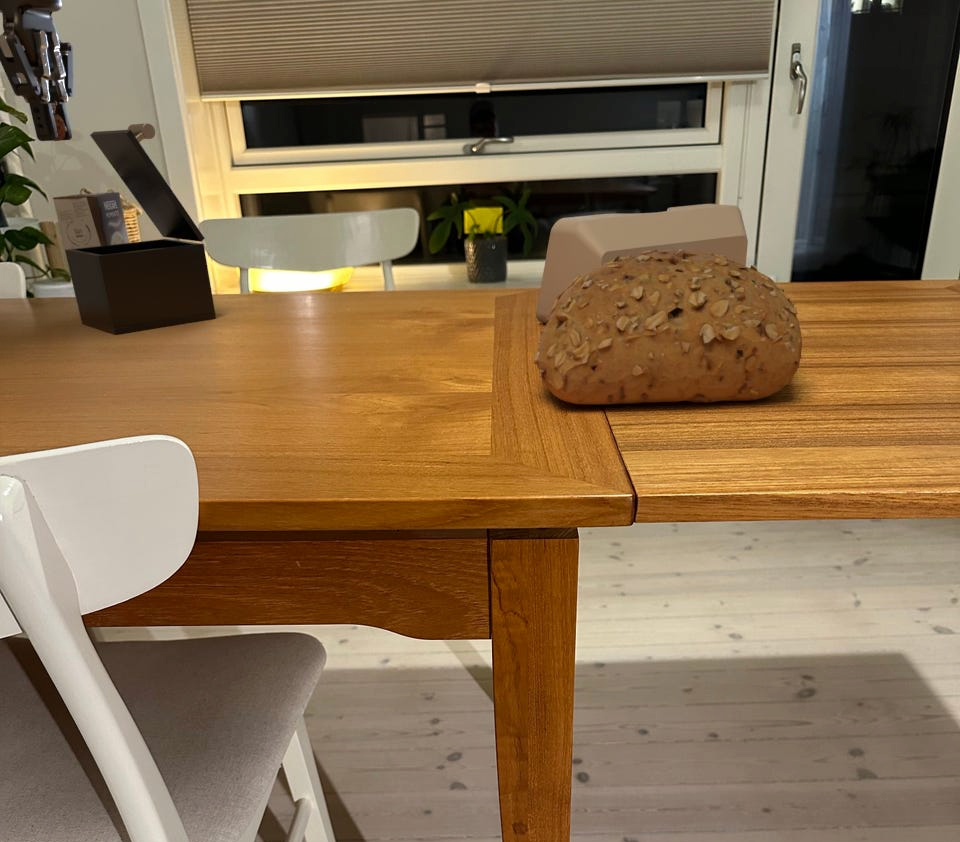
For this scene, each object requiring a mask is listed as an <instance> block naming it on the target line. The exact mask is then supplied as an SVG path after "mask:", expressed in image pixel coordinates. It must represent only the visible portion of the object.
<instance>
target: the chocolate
mask: <svg viewBox="0 0 960 842" xmlns="http://www.w3.org/2000/svg"><path fill="white" fill-rule="evenodd" d="M55 102H56V101H55ZM47 103H48V102H47ZM51 104H52V103H51ZM53 104H54V105H57V102H56V104H55V103H53ZM52 106H53V105H52ZM54 107H55V106H54ZM54 107H53V108H54ZM55 108H56V107H55ZM54 110H56V109H54ZM54 110H52V111H54ZM53 115H54V120H55V124H56V129H57V133H58V139H57V140H56V141H55V142H60V141H64V140H63V139H64V137H65V128H66V127H65V123H64V121H63V120H62V118H61V117H60V116H59V115H58V114H55V112H54V113H53ZM66 131H67V130H66Z"/></svg>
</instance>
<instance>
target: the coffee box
mask: <svg viewBox="0 0 960 842" xmlns="http://www.w3.org/2000/svg"><path fill="white" fill-rule="evenodd" d="M52 199H53V203H54V208H55V212H56V216H57V222H58V225H59V230H60V234H61V240H62V243H63V248H64V252H65V250H68V249H77V248H86V247H95V246H105V245H114V244H123V243H130V240H129V234H128V231H127V230H128V229H127V224H126V220H125V215H124V210H123V205H122V200H121V194H120V192H114V191H113V192H112V191H111V192H110V191H109V192H94V193H79V194H69V195H61V196H53V197H52ZM65 254H66V252H65ZM65 257H66V258H67V256H66V255H65ZM66 262H67V263H68V261H67V260H66ZM67 265H68V264H67ZM68 267H69V265H68ZM68 270H69V271H70V269H69V268H68ZM69 274H70V273H69ZM70 276H71V274H70ZM70 279H71V280H72V278H71V277H70ZM71 283H72V284H73V282H72V281H71ZM72 288H73V289H74V286H73V285H72ZM73 291H74V290H73ZM74 293H75V291H74ZM74 296H75V301H76V302H77V299H76V295H75V294H74ZM76 304H77V303H76ZM77 306H78V304H77ZM77 309H78V310H77V311H78V314H79V315H80V312H79V308H78V307H77Z"/></svg>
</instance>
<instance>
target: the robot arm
mask: <svg viewBox="0 0 960 842" xmlns="http://www.w3.org/2000/svg"><path fill="white" fill-rule="evenodd" d="M62 7H63V2H62V0H0V13H1V15H2V30H3V32H2V33H1V34H0V65H1V66H2V69H3V71H4V73H5V75H6V77H7V79H8V82H9V84H10V86H11V89H12V91H13V93H14V95H15V96H17V97H23V99H24V102H25V103H26V104H28V106H29V109H30V113H31V117H32V121H33V127H34V131H35V136H36V138H37V140H38V141H40V142H57V141H56V140H57V139H58V133H57V129H56V124H55V120H54V115H53V113H54V112H55V114H58V115H59V116H60V117H61V118H62V120H63V121H64V123H65V127H66V128H65V137H64V139H63V140H62V141H71V140H72V138H73V134H72V130H71V125H70V120H69V116H68V110H67V107H66V103H68V101H69V98H72V97H74V96H75V95H74V94H75V85H74V77H75V76H74V48H73V45H72V43H71V42H70V41H69V42H62V40H60V38H59V34H58V31H57V28H56V25H55V23H54V20H53V17H52V14H53V13H57V12H59V11H60V10H61V9H62ZM55 101H56V102H57V105H54V104H53V103H55V104H56V102H55ZM47 102H48V103H47ZM51 103H52V104H51ZM52 105H53V106H52ZM54 106H55V107H56V108H55V107H54ZM53 107H54V108H53ZM54 109H56V110H54ZM52 110H54V111H52ZM66 130H67V131H66Z"/></svg>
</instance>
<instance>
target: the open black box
mask: <svg viewBox="0 0 960 842" xmlns="http://www.w3.org/2000/svg"><path fill="white" fill-rule="evenodd" d="M64 252H66V253H65V257H66V256H67V257H66V262H67V261H68V262H67V265H69V266H68V270H69V269H70V270H69V274H71V275H70V279H71V278H72V279H71V283H72V282H73V283H72V287H73V286H74V288H73V291H75V292H74V296H75V295H76V297H75V300H76V299H77V301H76V304H78V305H77V309H78V308H79V310H78V313H79V312H80V314H79V317H80V321H81V324H82V325H84V326H88V327H91V328H94V329H98V330H100V331H103V332H106V333H109V334H112V335H122V334H129V333H135V332H140V331H146V330H147V331H148V330H154V329H158V328H165V327H171V326H177V325H178V326H179V325H183V324H189V323H196V322H202V321H209V320H214V319H217V315H216V310H215V304H214V297H213V292H212V286H211V280H210V279H211V278H210V273H209V267H208V262H207V261H208V260H207V255H206V250H205V244H204V243H201V242H194V241H186V240H179V239H171V238H161V239H153V240H141V241H134V242H129V243H123V244H114V245H105V246H95V247H86V248H77V249H68V250H65V249H64Z"/></svg>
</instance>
